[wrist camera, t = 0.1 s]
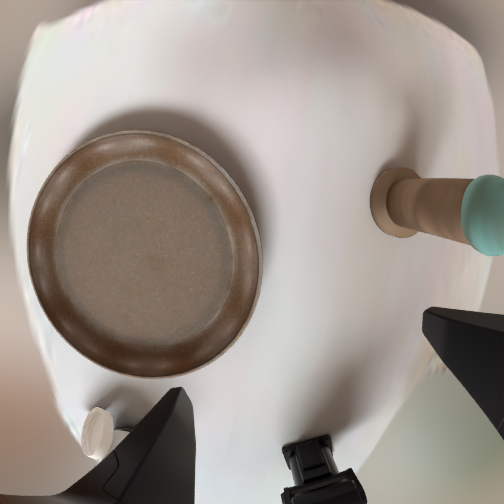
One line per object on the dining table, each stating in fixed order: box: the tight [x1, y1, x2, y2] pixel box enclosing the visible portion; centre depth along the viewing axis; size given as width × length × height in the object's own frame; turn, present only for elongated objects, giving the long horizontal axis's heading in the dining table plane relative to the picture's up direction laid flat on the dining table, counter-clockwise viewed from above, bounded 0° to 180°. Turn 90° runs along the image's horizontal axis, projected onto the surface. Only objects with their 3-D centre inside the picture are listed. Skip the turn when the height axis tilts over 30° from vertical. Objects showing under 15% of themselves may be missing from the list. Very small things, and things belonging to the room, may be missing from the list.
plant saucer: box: [27, 130, 263, 379], centre depth 20 cm, size 21×21×3 cm
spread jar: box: [81, 407, 132, 460], centre depth 20 cm, size 12×11×12 cm
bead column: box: [370, 168, 504, 256], centre depth 16 cm, size 6×6×14 cm
